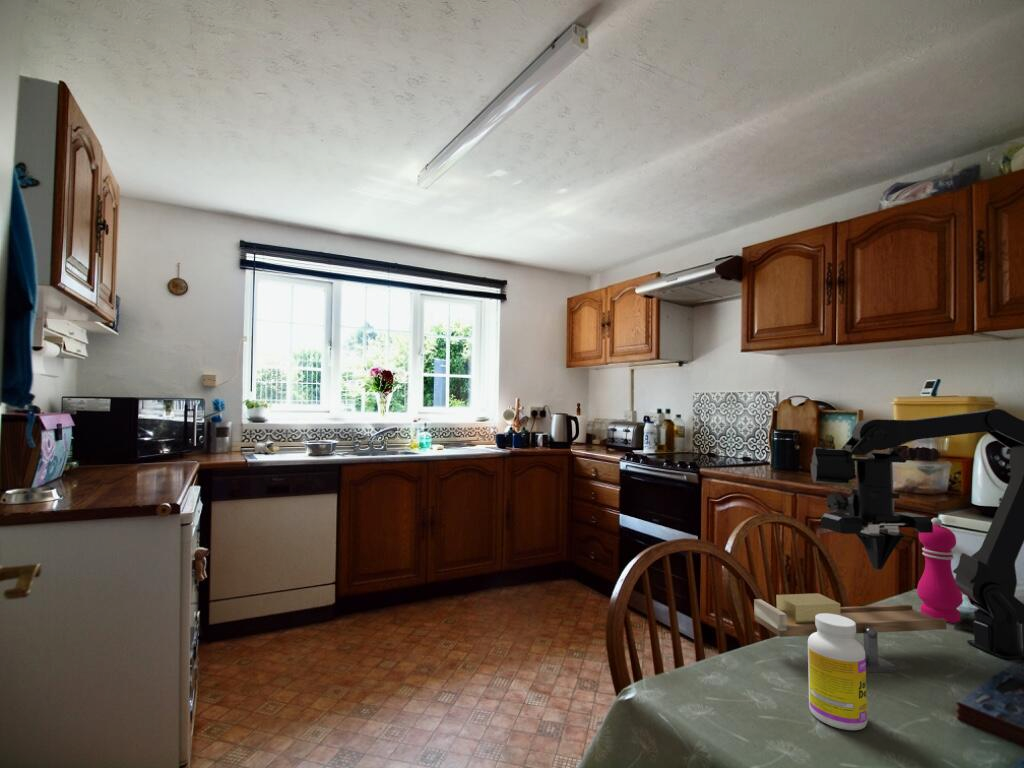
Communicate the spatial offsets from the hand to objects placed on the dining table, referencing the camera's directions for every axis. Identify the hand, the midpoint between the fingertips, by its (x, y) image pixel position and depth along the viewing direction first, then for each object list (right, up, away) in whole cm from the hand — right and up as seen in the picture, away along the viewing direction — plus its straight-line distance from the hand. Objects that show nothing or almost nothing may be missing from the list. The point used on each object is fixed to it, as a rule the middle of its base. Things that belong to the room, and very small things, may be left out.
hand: (877, 569), depth 97 cm
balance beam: (-11, -6, -9) cm, 15 cm away
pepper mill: (+19, -13, +9) cm, 24 cm away
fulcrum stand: (-11, -11, -9) cm, 18 cm away
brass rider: (-19, -5, -10) cm, 22 cm away
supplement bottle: (-25, -10, -28) cm, 39 cm away
